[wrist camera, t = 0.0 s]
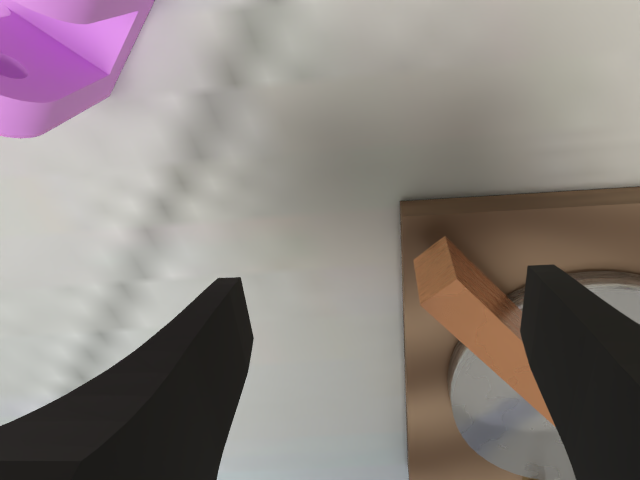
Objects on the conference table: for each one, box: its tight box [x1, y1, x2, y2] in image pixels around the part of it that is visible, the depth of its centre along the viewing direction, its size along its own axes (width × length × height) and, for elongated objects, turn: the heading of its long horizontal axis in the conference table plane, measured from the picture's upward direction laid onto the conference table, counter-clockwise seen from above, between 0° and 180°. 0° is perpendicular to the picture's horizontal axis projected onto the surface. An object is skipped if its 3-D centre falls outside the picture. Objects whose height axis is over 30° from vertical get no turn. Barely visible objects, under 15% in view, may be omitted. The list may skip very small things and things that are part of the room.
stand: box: [400, 187, 640, 480], centre depth 25 cm, size 18×16×3 cm
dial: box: [413, 236, 640, 480], centre depth 22 cm, size 17×12×4 cm
